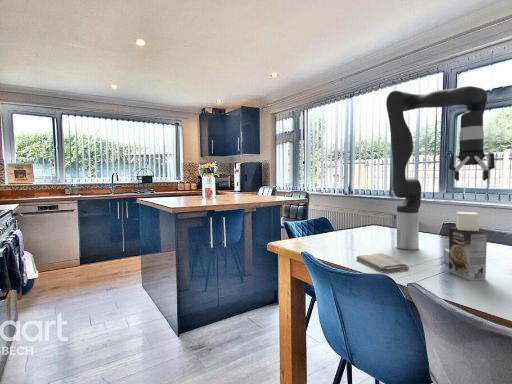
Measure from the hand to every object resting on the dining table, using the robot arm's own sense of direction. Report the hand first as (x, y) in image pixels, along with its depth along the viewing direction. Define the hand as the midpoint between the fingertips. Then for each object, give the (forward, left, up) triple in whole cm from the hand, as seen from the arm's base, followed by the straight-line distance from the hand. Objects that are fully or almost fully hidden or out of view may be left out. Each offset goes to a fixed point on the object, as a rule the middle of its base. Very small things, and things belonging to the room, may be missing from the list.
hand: (470, 180), depth 112 cm
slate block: (-6, -6, -32) cm, 33 cm away
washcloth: (-31, -18, -33) cm, 49 cm away
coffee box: (-4, -20, -32) cm, 38 cm away
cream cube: (-4, -20, -16) cm, 26 cm away
